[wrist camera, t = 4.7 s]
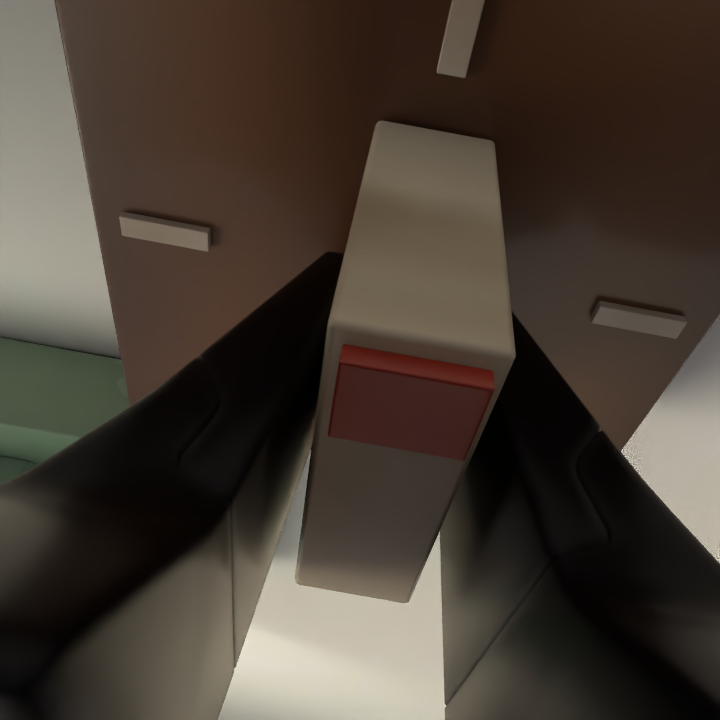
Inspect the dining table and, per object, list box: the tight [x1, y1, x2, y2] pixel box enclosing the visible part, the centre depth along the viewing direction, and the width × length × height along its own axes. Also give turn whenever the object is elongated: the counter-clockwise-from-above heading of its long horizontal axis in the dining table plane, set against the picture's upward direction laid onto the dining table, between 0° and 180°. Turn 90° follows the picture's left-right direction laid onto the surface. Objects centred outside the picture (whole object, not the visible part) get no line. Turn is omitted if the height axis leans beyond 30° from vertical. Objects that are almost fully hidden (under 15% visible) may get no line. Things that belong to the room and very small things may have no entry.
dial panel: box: [55, 0, 720, 452], centre depth 11 cm, size 10×10×3 cm
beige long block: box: [295, 121, 516, 603], centre depth 8 cm, size 5×2×4 cm, turn 172°
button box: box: [0, 338, 130, 484], centre depth 18 cm, size 10×10×4 cm
